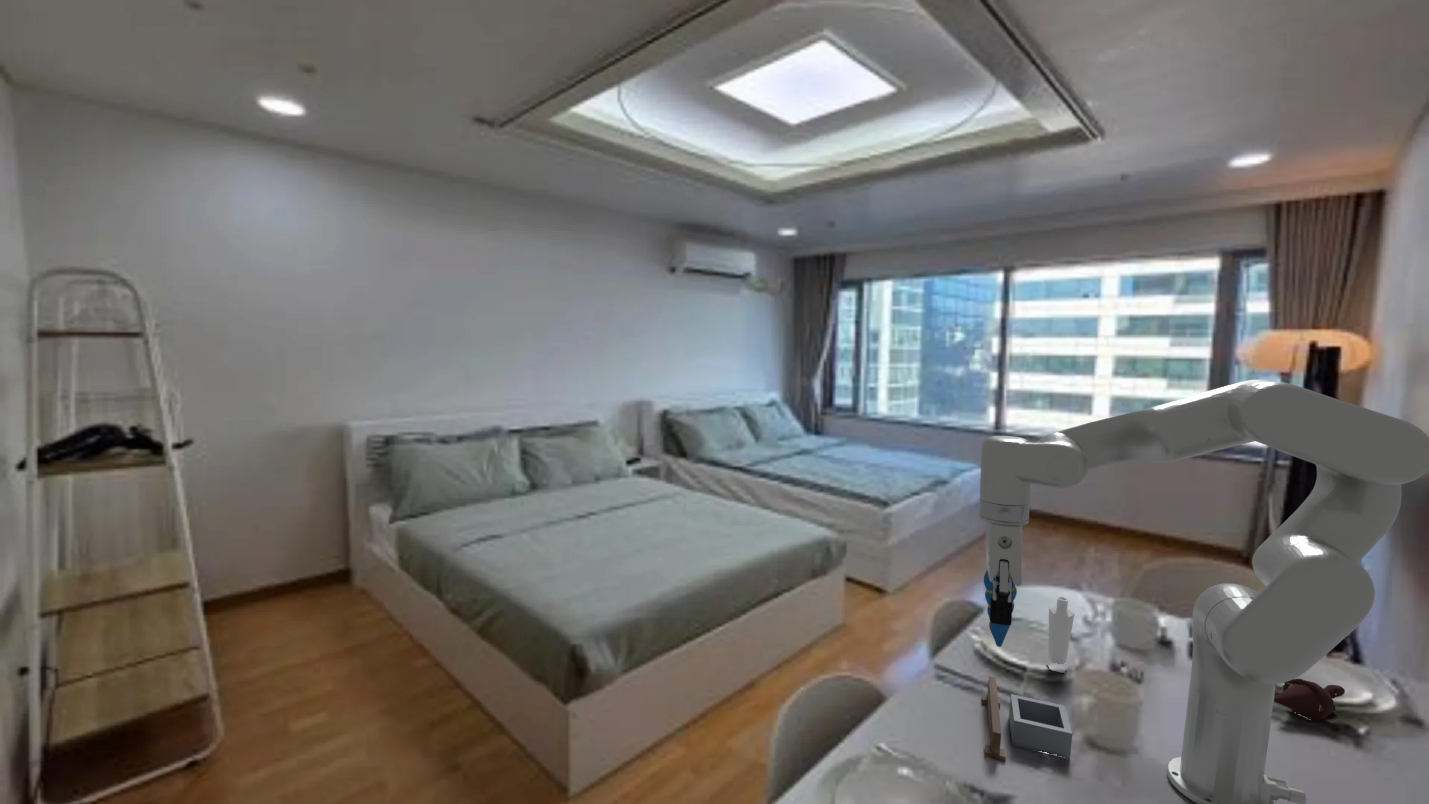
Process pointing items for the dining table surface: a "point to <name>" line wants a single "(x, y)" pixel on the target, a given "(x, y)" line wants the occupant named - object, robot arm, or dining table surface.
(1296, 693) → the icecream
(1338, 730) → the dining table surface
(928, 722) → the dining table surface
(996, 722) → the rail
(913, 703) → the dining table surface
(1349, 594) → the robot arm
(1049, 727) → the holder
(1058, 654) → the perfume bottle
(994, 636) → the ornament
